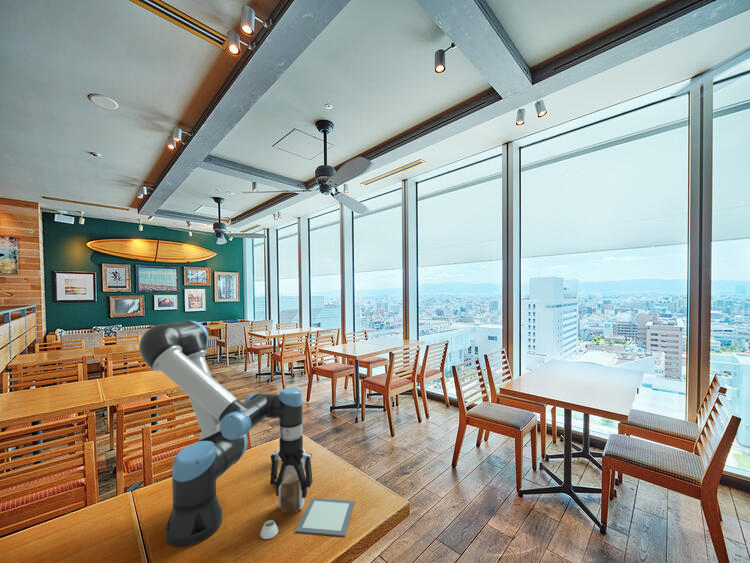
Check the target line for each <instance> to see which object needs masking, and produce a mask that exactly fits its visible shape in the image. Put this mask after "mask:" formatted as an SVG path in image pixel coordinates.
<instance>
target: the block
mask: <svg viewBox="0 0 750 563" xmlns="http://www.w3.org/2000/svg"><path fill="white" fill-rule="evenodd" d="M282 480H283V479H282ZM300 487H301V485H300V481H299V478H298V475H287V476H286V477H285V479H284V480H283V481H282V482H281V508H280V511H281V512H283V513H294V514H295V513H297V512H298V510H299V489H300Z"/></svg>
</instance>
